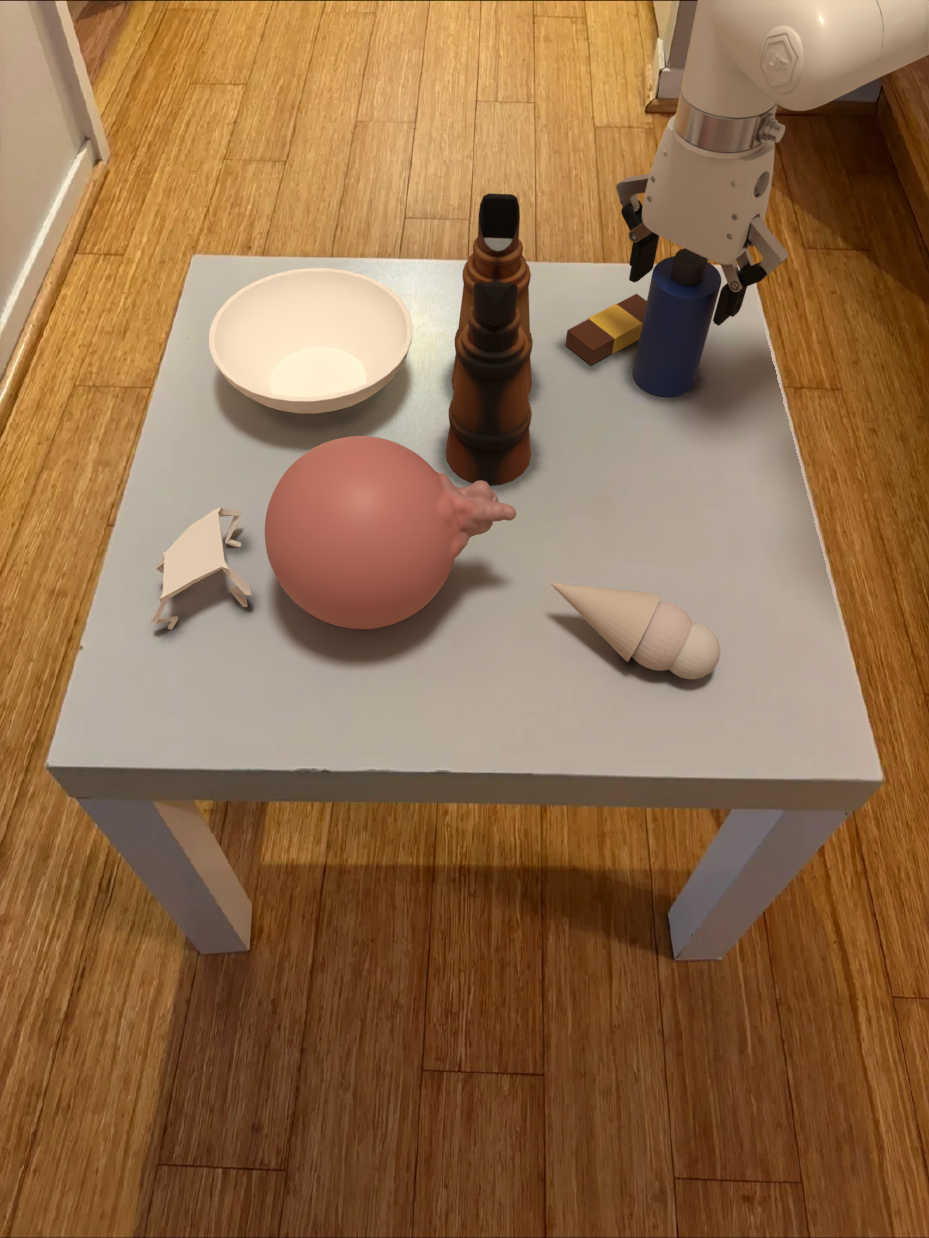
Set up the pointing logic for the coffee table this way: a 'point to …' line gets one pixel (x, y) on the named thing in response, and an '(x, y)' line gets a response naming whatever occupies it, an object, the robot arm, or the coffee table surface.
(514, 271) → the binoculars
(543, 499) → the coffee table surface
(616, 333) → the chocolate bar
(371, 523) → the balloon
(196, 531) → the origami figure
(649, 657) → the ice cream cone
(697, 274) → the water bottle
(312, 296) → the bowl
